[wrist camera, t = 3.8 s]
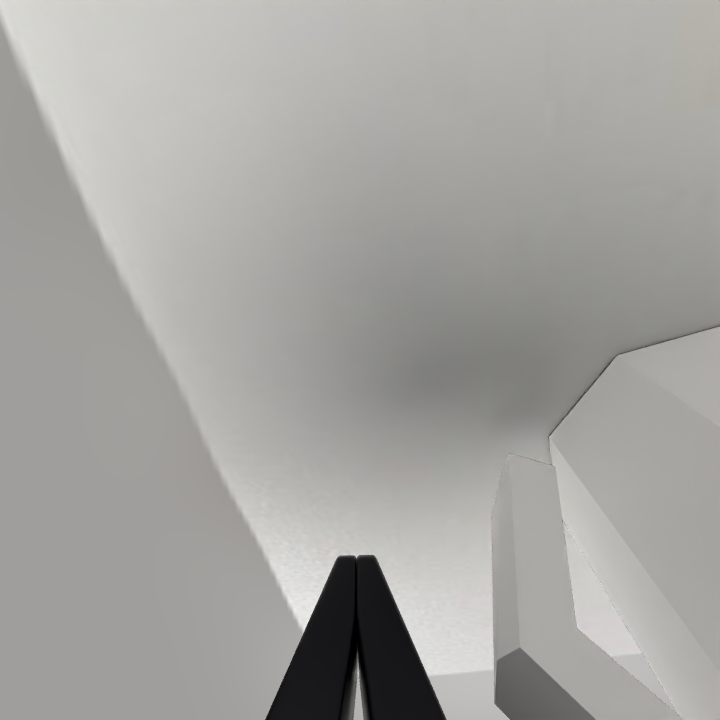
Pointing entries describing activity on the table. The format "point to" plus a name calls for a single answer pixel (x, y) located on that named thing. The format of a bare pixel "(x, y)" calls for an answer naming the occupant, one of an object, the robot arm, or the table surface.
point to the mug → (617, 544)
